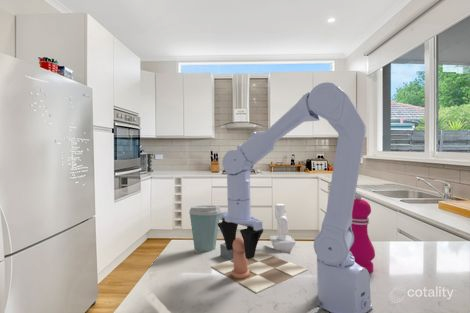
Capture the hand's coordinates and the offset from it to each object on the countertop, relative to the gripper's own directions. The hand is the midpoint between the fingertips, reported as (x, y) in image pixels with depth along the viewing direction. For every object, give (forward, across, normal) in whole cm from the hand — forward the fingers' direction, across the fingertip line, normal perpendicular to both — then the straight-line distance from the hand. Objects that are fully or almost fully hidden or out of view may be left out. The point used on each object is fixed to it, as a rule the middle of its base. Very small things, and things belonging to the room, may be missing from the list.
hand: (240, 253), depth 64 cm
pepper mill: (+6, +16, +28) cm, 33 cm away
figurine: (+6, -7, +23) cm, 25 cm away
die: (+6, -12, +6) cm, 15 cm away
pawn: (+5, 0, 0) cm, 5 cm away
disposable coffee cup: (+7, -23, +4) cm, 24 cm away
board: (+6, 0, +6) cm, 9 cm away
